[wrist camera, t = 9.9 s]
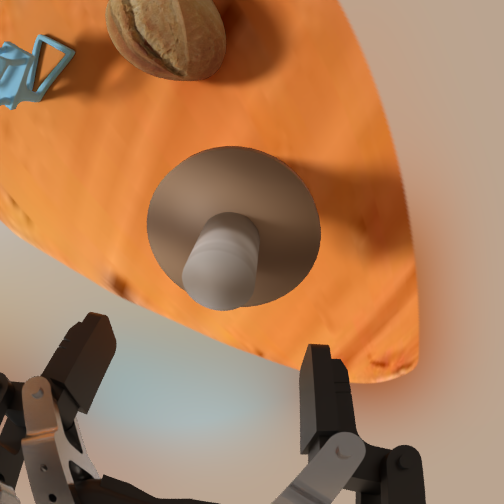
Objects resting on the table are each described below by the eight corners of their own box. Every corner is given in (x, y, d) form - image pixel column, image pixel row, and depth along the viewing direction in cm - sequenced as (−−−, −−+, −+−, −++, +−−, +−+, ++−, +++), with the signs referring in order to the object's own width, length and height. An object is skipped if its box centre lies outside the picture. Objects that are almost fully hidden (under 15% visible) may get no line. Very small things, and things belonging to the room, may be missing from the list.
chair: (19, 87, 25) (-46, 104, 14) (43, 33, 21) (-26, 35, 11) (49, 109, 27) (-21, 131, 16) (76, 51, 23) (3, 52, 13)
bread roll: (174, 104, 27) (142, 110, 20) (109, 13, 21) (68, 1, 14) (253, 54, 24) (245, 40, 17) (179, -38, 18) (152, -67, 11)
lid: (150, 142, 16) (102, 167, 11) (332, 157, 16) (356, 187, 11) (160, 286, 22) (133, 339, 17) (302, 303, 22) (307, 363, 17)
